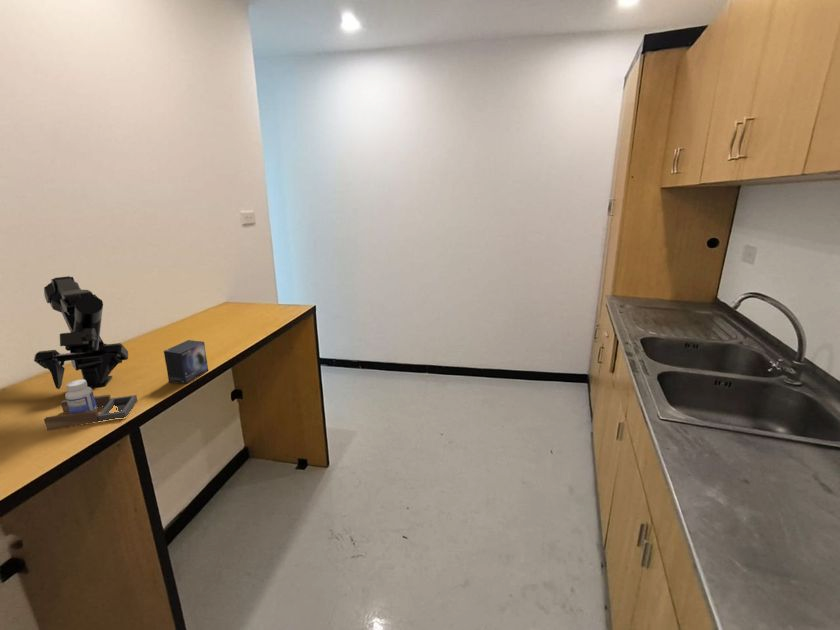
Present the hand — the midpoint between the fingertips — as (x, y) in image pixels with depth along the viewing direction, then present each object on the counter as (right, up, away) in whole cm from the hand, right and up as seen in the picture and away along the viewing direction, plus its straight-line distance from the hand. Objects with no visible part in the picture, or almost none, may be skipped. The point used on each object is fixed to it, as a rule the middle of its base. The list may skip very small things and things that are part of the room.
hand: (79, 385), depth 104 cm
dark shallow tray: (+7, -7, +4) cm, 11 cm away
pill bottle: (0, -8, +2) cm, 9 cm away
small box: (+14, -2, +25) cm, 29 cm away
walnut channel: (-1, -8, +1) cm, 8 cm away
